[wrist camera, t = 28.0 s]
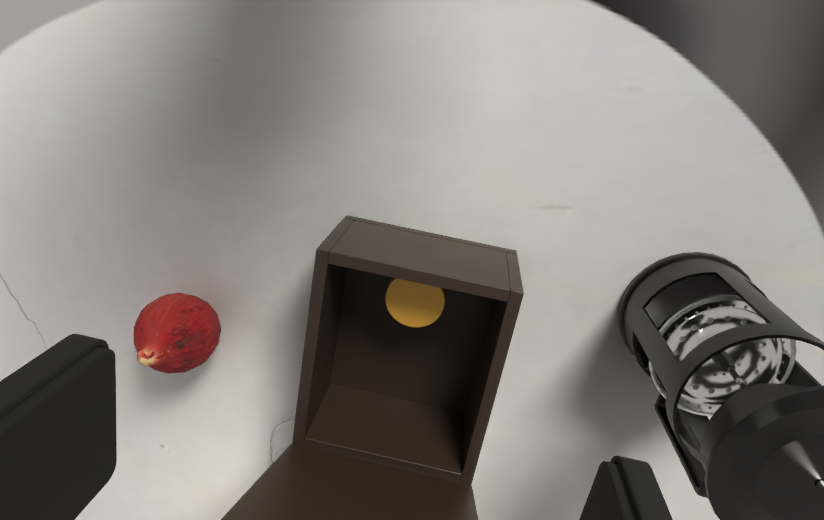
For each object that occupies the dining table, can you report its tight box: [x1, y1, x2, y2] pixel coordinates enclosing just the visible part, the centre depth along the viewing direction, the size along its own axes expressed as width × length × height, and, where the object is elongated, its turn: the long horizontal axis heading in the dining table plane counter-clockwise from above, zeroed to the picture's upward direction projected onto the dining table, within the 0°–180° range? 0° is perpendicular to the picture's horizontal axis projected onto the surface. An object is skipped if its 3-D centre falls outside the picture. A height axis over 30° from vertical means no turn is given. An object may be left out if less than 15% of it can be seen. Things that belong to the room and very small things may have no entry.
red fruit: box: [134, 293, 221, 373], centre depth 41 cm, size 6×6×8 cm
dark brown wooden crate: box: [292, 216, 524, 485], centre depth 40 cm, size 15×13×8 cm
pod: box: [385, 277, 447, 327], centre depth 39 cm, size 4×4×4 cm
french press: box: [618, 252, 824, 520], centre depth 30 cm, size 12×9×23 cm
